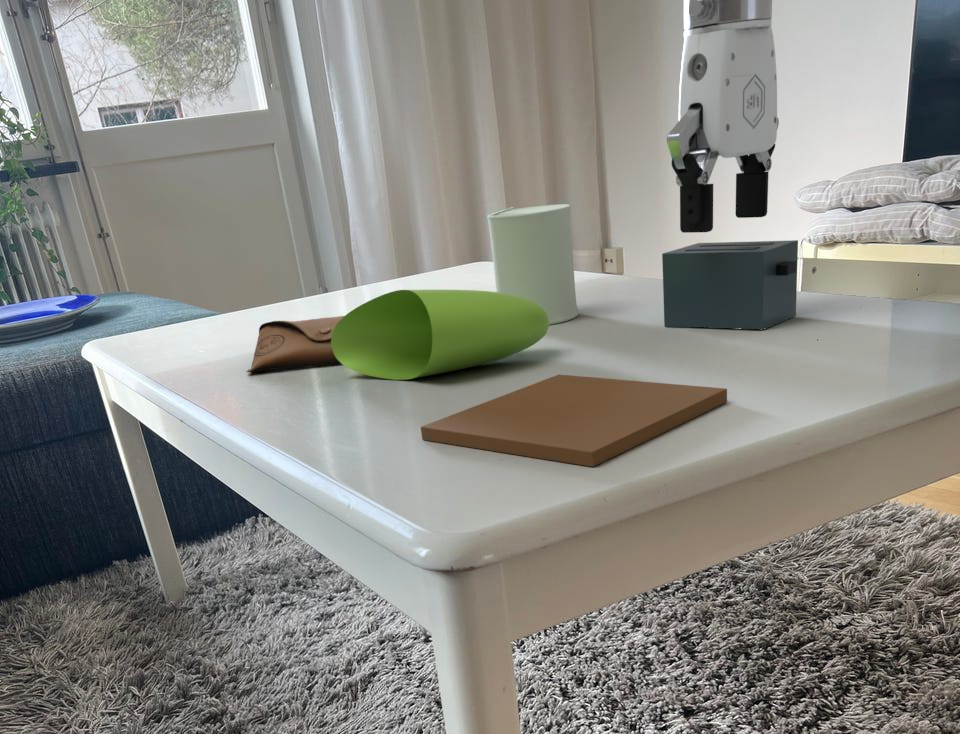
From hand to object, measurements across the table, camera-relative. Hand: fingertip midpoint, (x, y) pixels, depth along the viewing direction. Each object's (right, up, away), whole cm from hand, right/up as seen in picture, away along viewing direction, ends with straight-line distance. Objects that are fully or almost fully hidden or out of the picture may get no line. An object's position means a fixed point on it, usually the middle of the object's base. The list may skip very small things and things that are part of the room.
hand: (724, 224), depth 93 cm
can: (-17, -3, +18) cm, 25 cm away
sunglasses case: (-39, -10, +11) cm, 42 cm away
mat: (-17, -24, -21) cm, 36 cm away
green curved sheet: (-26, -14, 0) cm, 30 cm away
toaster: (+2, -8, +4) cm, 9 cm away
